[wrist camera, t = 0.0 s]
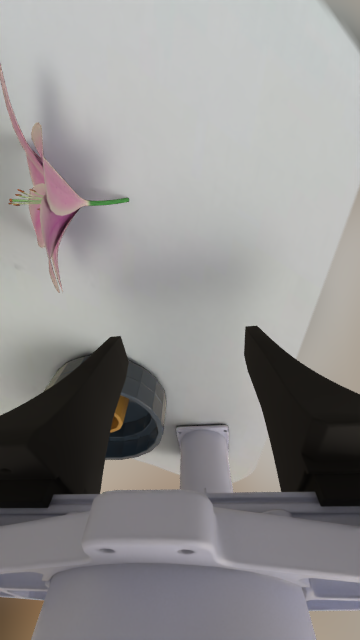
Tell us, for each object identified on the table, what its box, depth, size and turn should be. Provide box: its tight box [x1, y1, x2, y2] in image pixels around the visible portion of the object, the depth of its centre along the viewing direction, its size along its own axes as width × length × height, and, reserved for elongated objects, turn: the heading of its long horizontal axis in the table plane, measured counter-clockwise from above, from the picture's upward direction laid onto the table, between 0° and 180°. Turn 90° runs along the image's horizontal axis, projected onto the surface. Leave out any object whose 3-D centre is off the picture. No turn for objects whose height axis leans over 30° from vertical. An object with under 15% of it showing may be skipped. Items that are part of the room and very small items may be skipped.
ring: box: [110, 395, 129, 432], centre depth 29 cm, size 5×5×4 cm
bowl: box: [44, 356, 166, 460], centre depth 29 cm, size 15×15×5 cm
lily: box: [0, 64, 129, 293], centre depth 15 cm, size 12×12×10 cm
